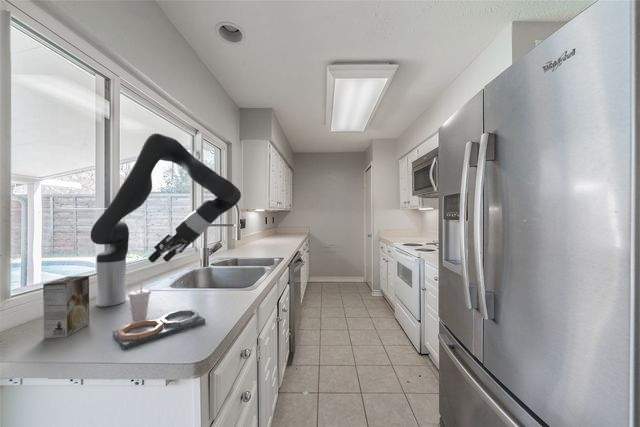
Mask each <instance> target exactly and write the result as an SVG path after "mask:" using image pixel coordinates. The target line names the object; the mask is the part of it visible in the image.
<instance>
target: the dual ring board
mask: <svg viewBox="0 0 640 427" xmlns="http://www.w3.org/2000/svg"><path fill="white" fill-rule="evenodd" d="M192 316H193V315H191V314H181V315H177V316H173V317H170V318H168V319H167V321H181V320H184V319H188V318H191V317H192ZM160 318H161V317H160ZM160 318H157V319H158V320H160ZM205 324H206V318H204V317H202V316H201V315H199V317H198V318H197V319H196V320H195V321H193V322H191V323H188V324H185V325H181V326H164V325H163V328H162V329H161V330H159V331H158V332H157V333H155V334H153V335H150V336H147V337H143V338H140V339H131V340H121V339H120V338H119V337H118V335H117V331H118V330H119V329H116V330H114V331H112V338H114V341H116V342H117V344H118V345H119V346H120V347H121V348H122V350H124V351H126V350H130V349H133V348H136V347H138V346H141V345H145V344H147V343H150V342H151V343H152V342H153V341H157V340H160V339H163V338H166V337H168V336H171V335H172V336H173V335H174V334H178V333H181V332H183V331H187V330H190V329H193V328H196V327H198V326H202V325H205ZM155 327H156V325H141V326H138V327H134V328H131V329H129V330H127V331H126V332H124V333H125V334H133V333H141V332H145V331H148V330H151V329H154V328H155Z"/></svg>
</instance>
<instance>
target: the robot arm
mask: <svg viewBox="0 0 640 427" xmlns="http://www.w3.org/2000/svg"><path fill="white" fill-rule="evenodd" d="M160 161H162V162H163V161H164V162H171V163H173V164H176V165H177V166H180V167H182V168H183V169H184V170H185V172H186V173H187V175H188V177H189V178H191V179H192V180H193V181H194V182H195V183H197V184H198V185H199V186H200V187H202V188H203V189H205V190H207V191H209V193H211V194H212V195H213V196H214V197H215V198H214V199H209V200H208V199H207V200H205V201H204V202H203V203H201V204H200V205H199V206H198V207H197V208H196V209H195V210H194V211H192V212H191V213H190V214H189V215H188V216H186V218H184V219H183V221H181V222H180V223H179V224H178V225H177V226H176V227H175V229H174V230H175V234H174V235H171V234H167V235H166V236H164V238H162V240H160V241H159V242H158V243H157V244H156V245H154V247H153V248H154V249H155V250H154V251H153V253H152V254H151V255H149V256H148V258H147V260H148V261H149V262H150V263H156V261H158V259H159V258H161V256H163V257H162V259H163V260H164V261H165V262H166V263H167V262H170V261H171V259H173V258H174V257H175V256H176V255H178V254H181V253H183V252H184V251H185V250H186V248H188V246H190V244H192V243H194V242H195V241H196V240H197V239H198V238H199V237H200V236H202V234H203V233H205V231H206V230H207V229H208V228H209V227H210V226H211V225H212V223H214V222H215V221H216V220H217V219H218V218H219V217H220V216H221V215H222V214H224V213H226V212H228V211H229V210H231V209H232V208H234V207H235V206H236V205H237V204H238V203H239V201H240V200H241V197H242V193H241V190H240V188H238V187H237V186H236V185H235V184H234V183H233V182H231V181H229V180H228V179H227V178H225V177H223V176H221V175H219V174H218V173H217V172H216V171H215V170H213V169H212V168H210V167H208V166H207V165H205V164H204V163H203V162H201V161H200V160H199V159H197V158H196V157H195V156H194V155H193V154H192V153H190V151H188V150H187V149H186V148H185V147H184V146H183V145H182V144H181V143H180V141H178V140H177V139H175V138H173V137H170V136H167V135H164V134H161V133H152V134H150V135H149V136H148V137H147V138H146V140H145V142H144V143H143V145H142V148H141V150H140V152H139V155H138V156H137V159H136V160H135V163H134V165H133V166H132V168H131V169H130V171H129V173H128V175H127V177H126V178H125V180H123V182H122V184H121V186H120V187H119V189H118V190H117V193H116V195H115V196H114V197H113V199H112V200H111V202H110V203H109V205H108V207H107V208H105V210H104V211H103V213H102V214H101V215H100V216H99V217H98V218H97V220H96V222H94V224H93V226H92V227H91V230H90V239H91V242H92V243H94V244H96V245H100V246H101V245H105V246H106V245H109V246H108V247H107V249H105V250H104V251H102V252H100V253H98V254H97V255H96V307H100V308H101V307H103V308H104V307H111V306H117V305H120V304H123V303H125V302H126V300H127V299H126V295H127V294H126V293H127V292H126V291H127V286H126V285H127V284H126V283H127V261H126V260H127V258H126V257H127V254H128V252H129V239H130V230H129V226H128V225H127V223H126V222H125V221H122V220H123V219H124V218H125V217H126V216H128V215H130V214H132V213H133V212H134V211H136V210H137V209H139V208H140V207H142V206H143V204H144V203H145V202H146V201H147V199H148V197H149V195H150V194H151V192H152V190H153V177H152V174H153V171H154V168H155V167H156V165H157V164H158V162H160ZM165 253H166V254H165ZM163 254H165V255H163Z"/></svg>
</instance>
